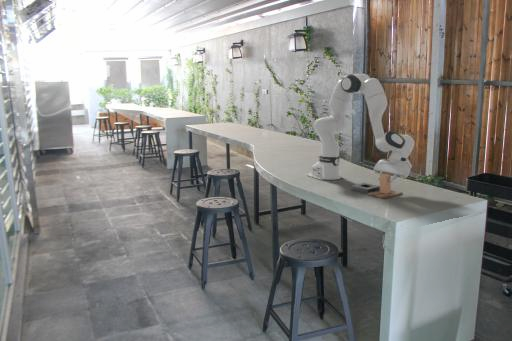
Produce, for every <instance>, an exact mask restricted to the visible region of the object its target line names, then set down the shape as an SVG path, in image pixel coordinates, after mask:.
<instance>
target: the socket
mask: <svg viewBox="0 0 512 341" xmlns="http://www.w3.org/2000/svg"><path fill="white" fill-rule="evenodd" d="M379 190H380V185H378V184H377V185H376V184H373V183H367V182H362V183H358V184H353V185H351V190H350V191H354V192H357V193H363V194H366V195H368V193H371V192H375V191H379Z"/></svg>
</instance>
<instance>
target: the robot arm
mask: <svg viewBox="0 0 512 341" xmlns="http://www.w3.org/2000/svg"><path fill="white" fill-rule="evenodd" d="M360 93H361V94H362V95H363V96H364V99H365V102H366V105H367V110H368V119H369V123H370V124H369V125H370V128H371V132H372V135H373V148H374V150H375V151H376V153H379V154H381V155H386V154H387V153H389V152H391V153H390V155H389V157H388V159H386V158H381V159H379V160H378V161H377V162H376V164H375V165H374V167H373V171H374V172H375V173H376V174H379V177H378V181H380V175H381V174H389V175H391V178H390V179H389V182H391V184H392V183H393V182H394V181H395V180H396V179H398V178H401V179H407V178H408V177H409V174H411V169H412V168H413V166H412V163H411V161H410V160H409V159H408V157H409V156H410V155H411V153H412V151H413V149H414V146H415V140H414V138H413V137H412V136H411V135H409V134H401V133H399V132H398V131H395V130H389V131H387V132H385V131H384V126H383V123H382V119H383V115H384V113H385V111H386V109H387V107H388V99H387V98H388V97H387V95H386V92H385V91H384V88H383V86H382V84H381V82H380V80H379V79H377V78H375V77H373V75H371V74H368V73H358V72H357V73H352V74H351V73H350V74H346V75H344V76H343V77H342V79H339V80H338V81H337V83H336V85H335V86H334V89H333V91H332V93H331V97H330V99H329V103H328V109H329V110H330V115H329V116H324V117H320V118H317V119H315V121H314V122H313V131H314V132H315V133H316V135H317V136H318V137H319V139H320V145H321V146H320V147H321V148H320V149H321V154H320V156H317V158H318V159H319V160H318V161H317V162H315V163H314V164H313V165H312V166H311V168H310V172H308V173H307V174H306V176H308V177H311V178H313V179H317V180H329V181H331V180H332V181H333V180H340V179H341V178H342V177H341V171H340V158H341V157H340V143H339V142H338V141H337V139H336V138H335V134H336V135H337V134H341V133H342V132H343V133H344V132H345V131H346V130H347V129H348V127H349V121H348V119H347V118H346V113H347V109H348V106H349V103H350V99H351V96H352V94H360Z"/></svg>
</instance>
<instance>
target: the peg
mask: <svg viewBox="0 0 512 341" xmlns="http://www.w3.org/2000/svg"><path fill="white" fill-rule="evenodd" d="M379 177H380V180H379V186H380V193H384V194H387V193H390V190H391V184H392V183H391V182H389V179H390V178H392V176H391V175H389V174H381V175H380V174H379Z"/></svg>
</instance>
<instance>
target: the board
mask: <svg viewBox="0 0 512 341" xmlns="http://www.w3.org/2000/svg"><path fill="white" fill-rule="evenodd" d="M401 195H403V192H402V191H398V190H393V189H390V193H387V194H384V193H380V190H379V191H375V192H371V193H368V194H367V196H370V197H374V198H379V199H383V200H387V199H391V198H394V197H396V196H401Z"/></svg>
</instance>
